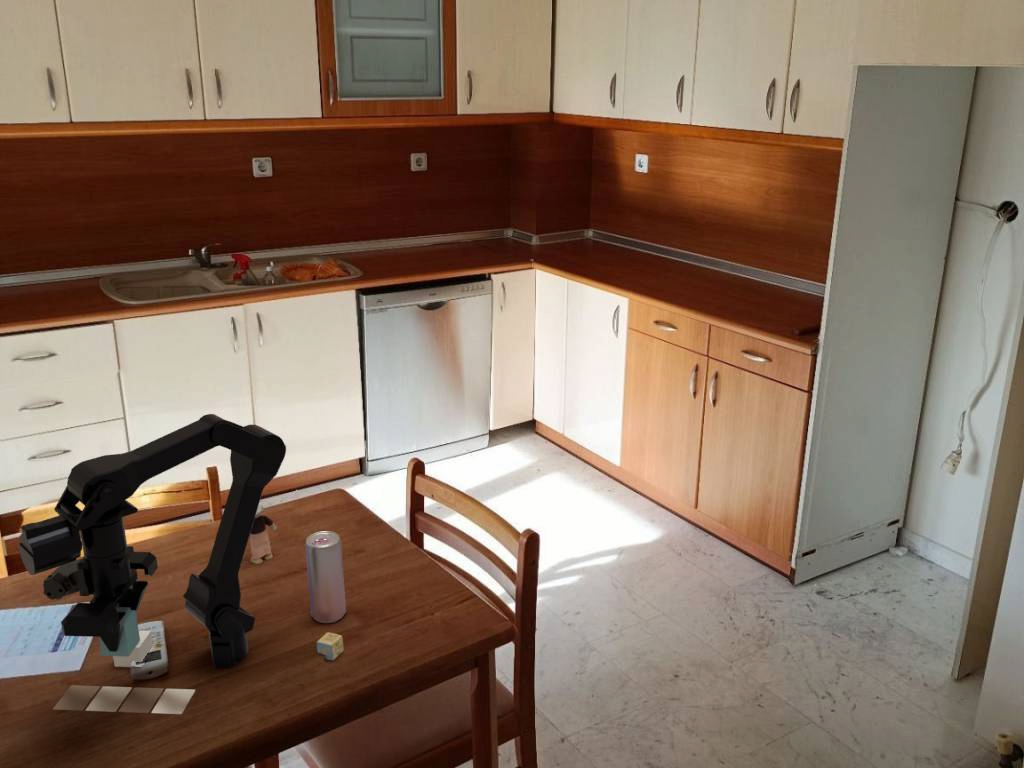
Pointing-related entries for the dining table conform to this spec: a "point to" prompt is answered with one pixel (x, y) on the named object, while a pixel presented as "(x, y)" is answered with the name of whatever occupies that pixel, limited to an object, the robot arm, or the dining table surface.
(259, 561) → the grandmother figurine
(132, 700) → the game strip
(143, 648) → the die
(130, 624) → the teal rectangular block
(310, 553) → the beverage can
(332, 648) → the alphabet block
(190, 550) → the dining table surface
